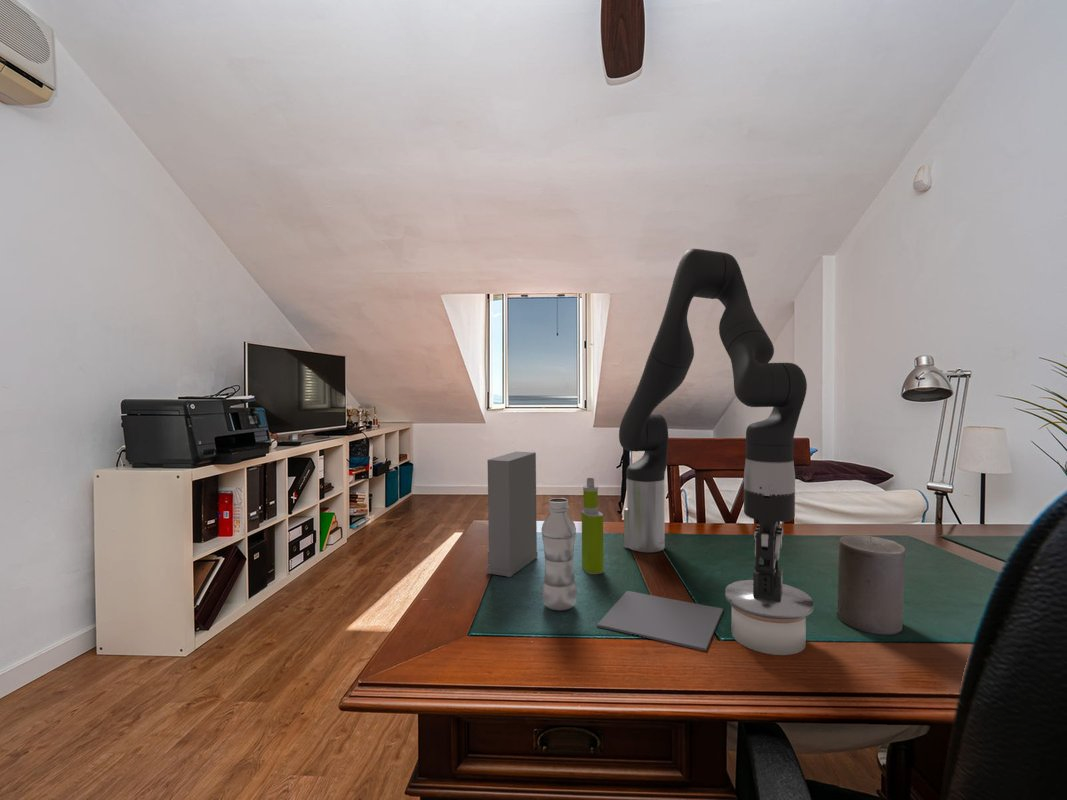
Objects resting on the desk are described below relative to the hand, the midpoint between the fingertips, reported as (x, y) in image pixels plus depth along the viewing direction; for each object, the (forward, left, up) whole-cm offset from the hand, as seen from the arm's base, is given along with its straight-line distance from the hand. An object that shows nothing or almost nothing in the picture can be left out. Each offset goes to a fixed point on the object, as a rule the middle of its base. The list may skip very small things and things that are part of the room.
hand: (768, 587), depth 87 cm
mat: (-17, -1, -8) cm, 19 cm away
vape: (-37, +16, -9) cm, 41 cm away
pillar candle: (+15, +14, -9) cm, 22 cm away
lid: (0, 0, -2) cm, 2 cm away
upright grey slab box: (-54, +10, -9) cm, 56 cm away
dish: (0, 0, -8) cm, 8 cm away
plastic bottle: (-35, -5, -9) cm, 36 cm away
